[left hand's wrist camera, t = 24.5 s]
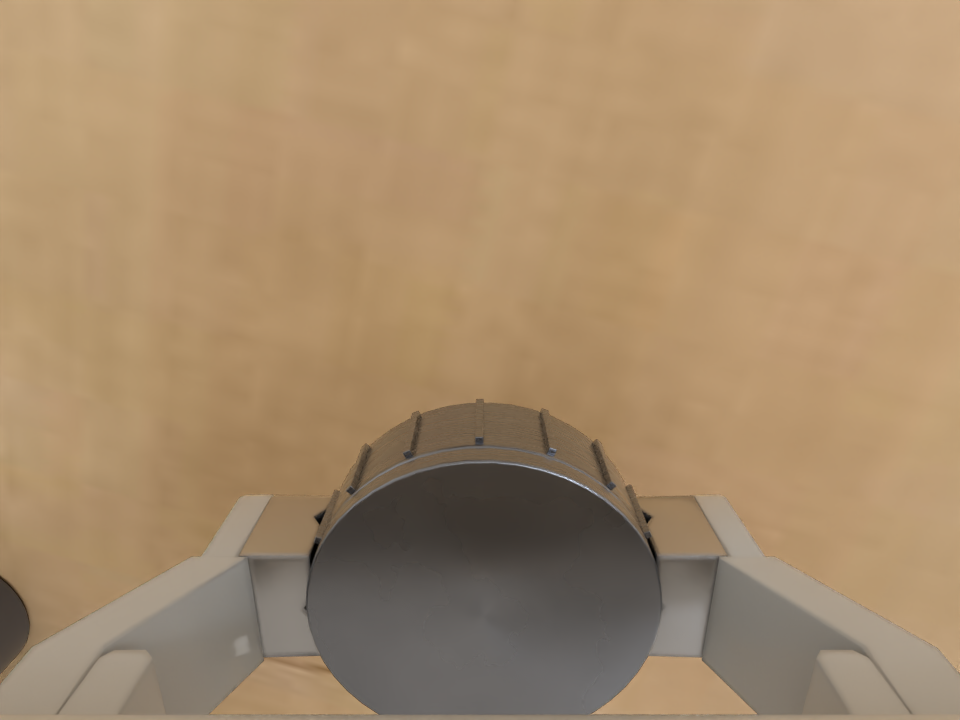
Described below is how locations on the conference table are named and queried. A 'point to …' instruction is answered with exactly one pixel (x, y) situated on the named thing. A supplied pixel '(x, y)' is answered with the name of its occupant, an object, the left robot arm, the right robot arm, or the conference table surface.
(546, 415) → the lid
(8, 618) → the grey tall cylinder
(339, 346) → the conference table surface
